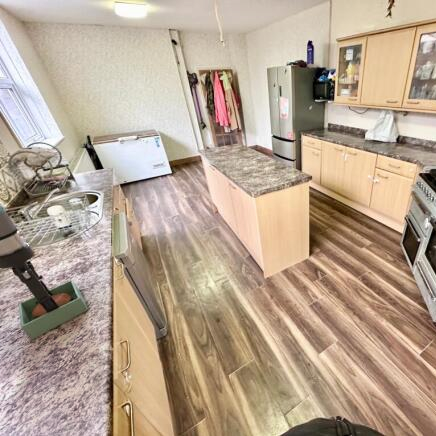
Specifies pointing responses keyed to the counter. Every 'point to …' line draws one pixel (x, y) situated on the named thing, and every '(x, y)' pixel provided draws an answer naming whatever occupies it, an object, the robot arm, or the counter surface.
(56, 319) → the green shallow tray
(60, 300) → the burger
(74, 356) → the counter surface
